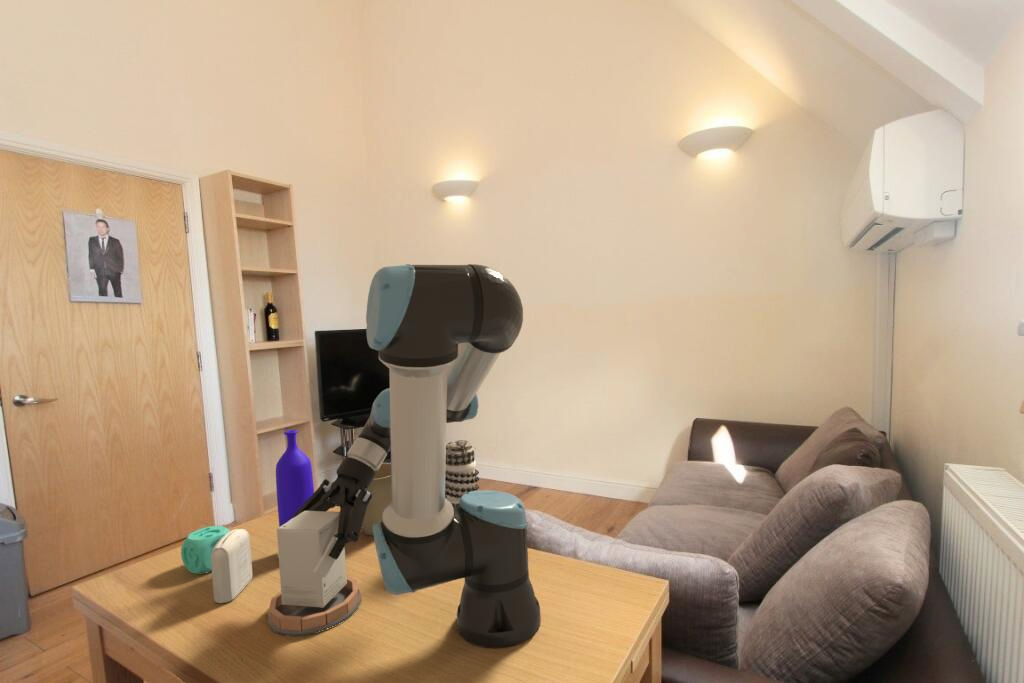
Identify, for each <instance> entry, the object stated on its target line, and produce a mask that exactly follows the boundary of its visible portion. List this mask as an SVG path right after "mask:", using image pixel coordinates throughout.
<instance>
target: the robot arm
mask: <svg viewBox="0 0 1024 683" xmlns="http://www.w3.org/2000/svg"><path fill="white" fill-rule="evenodd" d="M367 296H368V297H367V304H366V314H365V321H366V332H365V333H366V340H367V345H368V346H369V348H370V349H373V350H375V351H377V352H378V355H377V356H378V360H379V361H380V362H381V363H382V364H383V365H385V366H386V367H387V368H388V369H389V388H386V389H384V390H382V391H381V392H380V393H379V394H378V395H377V396H376V398H375V399H374V401H373V403H372V405H371V411H370V414H369V417H368V419H367V421H366V423H365V425H364V426H363V428H362V429H361V431H360V432H359V434H358V436H357V437H356V438H355V440H354V442H353V443H352V445H351V446H350V448H349V449H348V451H347V452H346V455H347V456H346V457H344V458H343V460H342V461H341V463H340V465H339V466H338V467H337V469H336V474H337V478H336V479H335V480H334V481H333V482H332V481H330V480H328V479H327V478H325V479H323V481H322V482H321V483H320V485H319V487H318V488H317V489H316V490H314V494H313V495H312V496H311V497H310V498H309V499H308V500H307V501H306V502H305V503H304V504H303V505H302V506H301V507H300V508H299V509H298V511H297V512H296V513H295V514H294V515H293V517H292V518H294V517H296V516H297V515H299V514H301V513H302V512H304V511H324V512H328V511H329V510H330V509H334V508H335V507H339V509H340V510H339V512H340V516H339V524H338V533H337V534H336V535H337V536H336V535H334V536H335V537H336V538H338V539H336V538H334V537H333V538H332V539H331V541H330V543H329V544H328V546H327V548H326V550H325V551H324V553H323V555H322V556H321V558H320V560H319V562H318V563H317V565H316V567H315V569H314V570H313V572H315V573H317V574H319V575H321V576H322V577H326V576H327V574H328V572H329V570H330V569H331V567H332V565H333V563H334V561H335V560H337V558H338V557H339V556H340V554H341V552H342V550H343V548H344V547H346V545H347V544H349V543H351V542H353V543H357V541H359V537H360V534H361V530H362V523H363V520H364V516H365V512H366V509H367V505H368V503H369V502H370V500H371V498H372V494H371V493H369V492H368V491H367V490H365V489H367V488H368V487H369V486H370V484H371V482H372V481H373V479H374V477H375V475H376V474H375V471H378V470H379V468H380V466H381V464H382V463H384V460H385V459H386V457H387V456H388V454H389V452H390V463H391V488H392V501H391V502H390V503H389V504H388V505H387V506H386V507H385V509H384V511H383V515H382V522H378V523H377V524H374V525H373V528H372V529H373V540H374V546H375V550H376V555H377V560H378V563H379V568H380V574H381V576H382V581H383V585H384V588H385V591H387V593H389V594H390V595H393V596H398V595H404V594H408V593H410V594H412V593H416V592H417V591H421V590H424V589H427V588H432V587H434V586H439V585H443V584H446V583H449V582H453V581H457V580H460V579H463V578H464V583H463V587H462V592H461V595H460V600H459V601H460V602H459V604H458V607H457V611H456V625H457V626H456V627H457V630H458V633H459V635H460V636H461V637H462V638H463V640H465V641H466V642H468V643H470V644H472V645H474V646H478V647H481V648H486V649H501V648H508V647H513V646H517V645H519V644H521V643H523V642H525V641H527V640H528V639H531V637H533V635H535V634H536V632H537V631H538V630H539V628H540V626H541V622H542V620H541V618H542V617H541V606H540V603H539V600H538V598H537V597H536V593H535V591H534V588H533V584H532V582H531V579H530V575H529V574H530V572H529V571H530V570H529V554H528V553H529V551H528V549H529V548H528V546H529V545H528V522H527V518H526V507H525V504H524V503H523V501H522V500H521V499H520V498H518V497H517V496H516V495H513V494H511V493H509V492H504V491H499V490H493V489H482V490H481V489H480V490H479V489H477V491H471V492H468V493H467V494H464V495H462V496H461V498H460V501H459V506H458V507H454V508H453V506H452V504H451V503H450V502H449V501H448V500H447V499H446V498H445V470H446V445H447V424H449V423H450V424H451V423H461V422H464V421H468V420H469V421H470V420H472V419H474V418H475V417H476V416H477V414H478V412H479V411H478V409H479V398H478V391H479V390H480V388H481V386H482V385H483V383H484V381H485V379H486V378H487V376H488V374H489V373H490V371H491V370H492V368H493V366H494V365H495V363H496V361H497V359H498V358H499V356H500V354H502V353H505V352H506V351H509V349H510V348H511V347H512V346H513V344H514V343H515V341H516V340H517V338H518V337H519V334H520V332H521V330H522V326H523V323H524V322H523V321H524V307H523V303H522V301H521V300H522V299H521V296H520V295H519V293H518V290H517V289H516V288H515V286H514V285H513V283H512V282H511V281H510V280H509V279H508V278H507V277H506V276H505V275H504V274H503V273H502V272H499V271H498V270H497V269H494V268H493V267H489V266H488V265H487V266H486V265H482V264H471V263H469V264H410V263H408V264H405V265H404V264H403V265H401V264H400V265H393V266H391V265H389V266H384V267H382V268H380V269H378V270H377V271H376V272H375V274H374V275H373V277H372V280H371V282H370V285H369V291H368V295H367ZM276 556H277V557H279V552H278V554H277V555H276Z"/></svg>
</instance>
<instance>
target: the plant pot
mask: <svg viewBox="0 0 1024 683" xmlns="http://www.w3.org/2000/svg"><path fill="white" fill-rule="evenodd" d="M375 474H376V475H375V477H374V479H373V481H372V482H371V484H370V486H369V487H368V488H367V489H365V490H367V491H368V492H369V493H371V494H372V498H371V500H370V502H369V503H368V505H367V509H366V512H365V516H364V520H363V523H362V527H361V530H362V531H363V532H364V533H363V534H365V535H368V536H372V535H373V529H372V528H373V525H374V524H377V523H378V522H382V515H383V511H384V509H385V507H386V506H387V505H388V504H389V503H390V502H391V501H392V488H391V462H383V463H382V464H381V466H380V468H379V470H378V471H375Z"/></svg>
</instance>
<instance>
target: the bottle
mask: <svg viewBox="0 0 1024 683" xmlns="http://www.w3.org/2000/svg"><path fill="white" fill-rule="evenodd" d="M297 433H299V430H297V429H290V430H286V431H284V433H283V434H284V435H285V436H286V439H287V440H286V442H287V445H286V449H285V450H284V452H283V454H282V455H281V456H280V458H279V459H278V461H277V463H276V464H275V486H276V487H275V488H276V502H277V503H276V504H277V514H278V528H279V527H280V526H282V525H284V524H285V523H287V522H288V521H289V520H291V519H292V517H293V515H294V514H295V513H296V512H297V511H298V509H299V508H300V507H301V506H302V505H303V504H304V503H305V502H306V501H307V500H308V499H309V498H310V497H311V496H312V495H313V494H314V492H315V488H314V476H313V467H312V461H311V459H310V458H309V457H308V455H307V454H306V453H305V452H303V451H302V449H300V448H299V447H298V445H297Z"/></svg>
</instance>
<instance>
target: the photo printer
mask: <svg viewBox="0 0 1024 683" xmlns="http://www.w3.org/2000/svg"><path fill="white" fill-rule="evenodd" d="M229 531H230V532H229V533H227V534H226V535H225V536H223V537H222V538H221V539H220V540H219V541H218V543H217V544H216V545H215V547H214V548H213V550H212V553H211V568H212V572H211V579H212V591H213V592H212V593H213V599H214V602H216V603H217V604H227V603H230V602H231V601H233V600H234V599H235V598H236V597H238V595H240V593H242V591H243V590H244V589H245V588H246V587H247V586H246V585H248V584H250V582H251V581H252V579H253V574H254V573H253V564H252V563H253V562H252V550H251V549H252V548H251V541H250V540H251V539H250V538H251V537H250V534H249V532H248V531H247V530H246V529H245V528H235V529H232V530H229ZM245 586H246V587H245Z"/></svg>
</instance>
